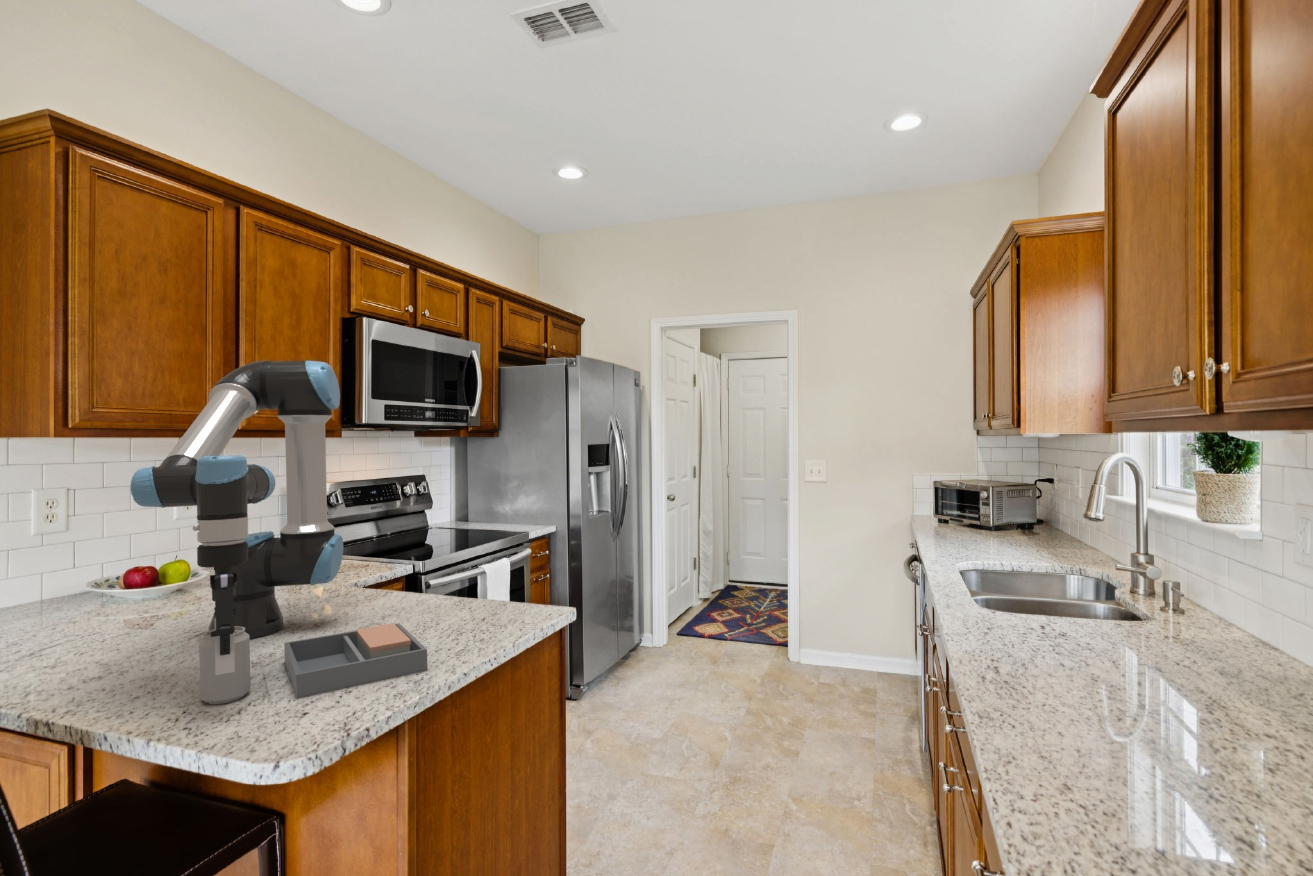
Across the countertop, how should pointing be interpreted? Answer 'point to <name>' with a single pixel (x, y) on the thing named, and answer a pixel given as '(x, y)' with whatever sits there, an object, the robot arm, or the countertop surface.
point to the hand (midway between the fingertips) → (224, 662)
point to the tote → (345, 663)
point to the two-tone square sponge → (382, 641)
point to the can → (227, 684)
